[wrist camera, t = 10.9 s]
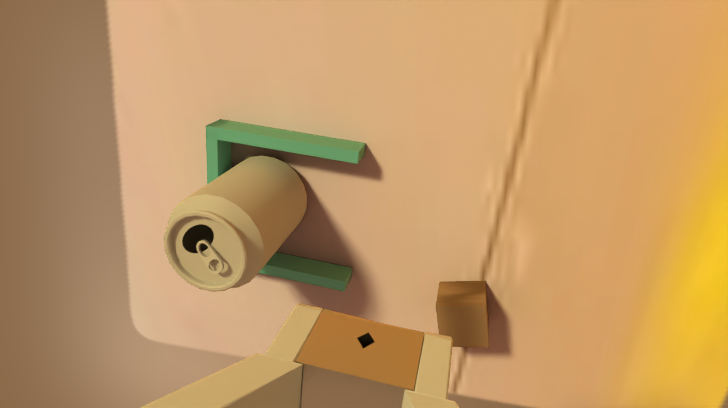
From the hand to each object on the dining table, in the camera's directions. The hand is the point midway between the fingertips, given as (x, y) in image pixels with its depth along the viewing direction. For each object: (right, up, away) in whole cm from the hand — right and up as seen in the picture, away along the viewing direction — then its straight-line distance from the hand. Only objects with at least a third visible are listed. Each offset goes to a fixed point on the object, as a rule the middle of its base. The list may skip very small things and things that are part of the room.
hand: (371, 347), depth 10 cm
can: (-8, +4, +35) cm, 36 cm away
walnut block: (+9, -6, +35) cm, 37 cm away
